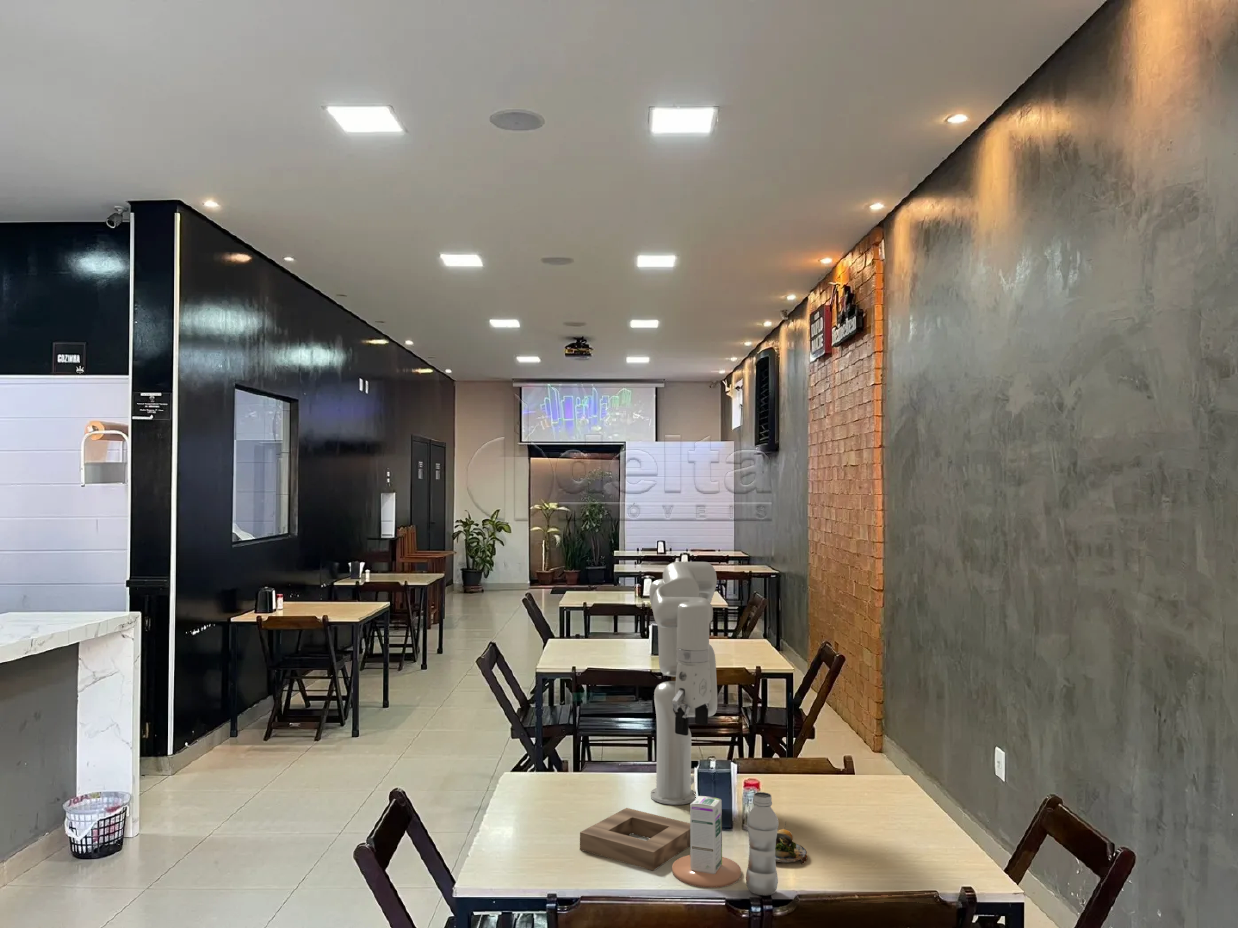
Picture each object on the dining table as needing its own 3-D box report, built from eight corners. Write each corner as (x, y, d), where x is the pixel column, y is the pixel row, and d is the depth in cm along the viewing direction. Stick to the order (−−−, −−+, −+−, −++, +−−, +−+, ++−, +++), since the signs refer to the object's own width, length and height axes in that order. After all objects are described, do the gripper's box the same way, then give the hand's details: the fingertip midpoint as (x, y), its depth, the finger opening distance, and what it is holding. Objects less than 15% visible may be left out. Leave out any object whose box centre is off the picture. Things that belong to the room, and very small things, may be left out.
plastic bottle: (753, 882, 182) (754, 787, 184) (783, 891, 179) (783, 793, 180) (740, 893, 177) (740, 795, 178) (770, 902, 173) (770, 802, 174)
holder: (626, 823, 215) (626, 807, 216) (696, 841, 204) (696, 824, 205) (579, 849, 199) (579, 832, 199) (653, 870, 188) (653, 852, 188)
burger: (744, 854, 198) (744, 821, 198) (778, 843, 205) (779, 811, 205) (783, 872, 188) (783, 838, 189) (818, 859, 196) (818, 826, 196)
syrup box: (715, 874, 184) (716, 806, 184) (689, 870, 186) (689, 802, 187) (722, 864, 189) (722, 798, 190) (696, 860, 191) (697, 794, 192)
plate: (692, 853, 198) (692, 848, 198) (752, 868, 189) (752, 864, 189) (659, 875, 185) (659, 871, 185) (721, 893, 177) (721, 888, 177)
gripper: (689, 664, 190) (688, 741, 190) (723, 651, 204) (722, 723, 204) (660, 659, 194) (659, 735, 194) (695, 647, 208) (694, 718, 208)
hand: (691, 729), depth 199 cm, fingers open, 9 cm apart
